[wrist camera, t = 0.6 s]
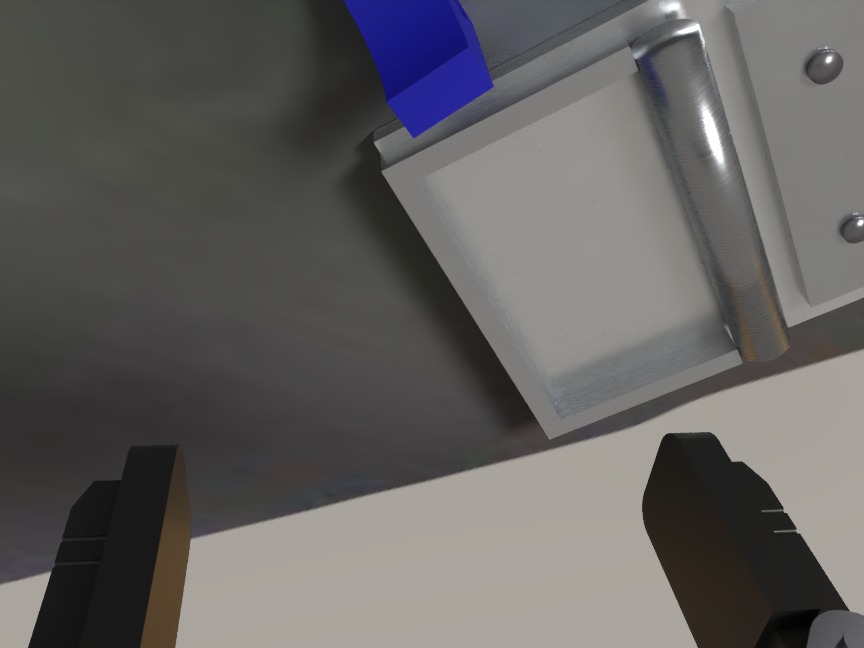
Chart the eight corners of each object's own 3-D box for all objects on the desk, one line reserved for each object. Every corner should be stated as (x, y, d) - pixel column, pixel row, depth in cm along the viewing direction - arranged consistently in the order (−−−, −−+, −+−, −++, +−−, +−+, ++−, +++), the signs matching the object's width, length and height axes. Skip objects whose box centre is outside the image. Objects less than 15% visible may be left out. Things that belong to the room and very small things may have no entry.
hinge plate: (862, -124, 27) (917, -102, 25) (916, 259, 38) (959, 303, 35) (373, 131, 32) (375, 172, 29) (544, 409, 42) (556, 458, 40)
